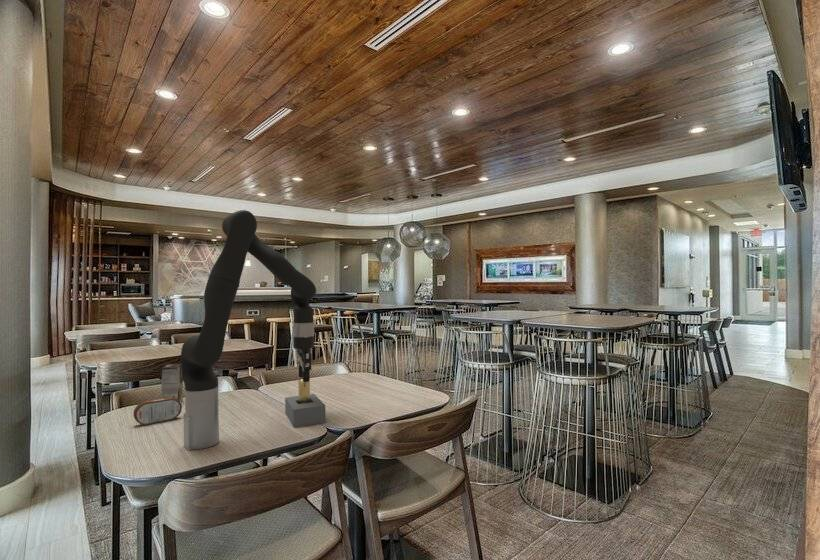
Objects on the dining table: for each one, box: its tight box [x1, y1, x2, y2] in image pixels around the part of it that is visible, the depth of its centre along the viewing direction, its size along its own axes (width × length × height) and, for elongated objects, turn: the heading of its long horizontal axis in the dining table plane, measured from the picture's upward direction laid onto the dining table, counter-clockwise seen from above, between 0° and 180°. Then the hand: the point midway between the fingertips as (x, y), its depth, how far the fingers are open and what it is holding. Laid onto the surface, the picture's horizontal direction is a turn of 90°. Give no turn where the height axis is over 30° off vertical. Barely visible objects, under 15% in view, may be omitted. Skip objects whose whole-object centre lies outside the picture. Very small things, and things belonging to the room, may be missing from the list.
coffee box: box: [160, 363, 184, 403], centre depth 176 cm, size 9×6×16 cm
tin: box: [133, 397, 183, 426], centre depth 152 cm, size 15×3×8 cm, turn 129°
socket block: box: [284, 393, 327, 428], centre depth 153 cm, size 18×11×6 cm, turn 25°
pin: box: [297, 377, 311, 404], centre depth 154 cm, size 4×4×12 cm
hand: (303, 379), depth 153 cm, fingers open, 8 cm apart
